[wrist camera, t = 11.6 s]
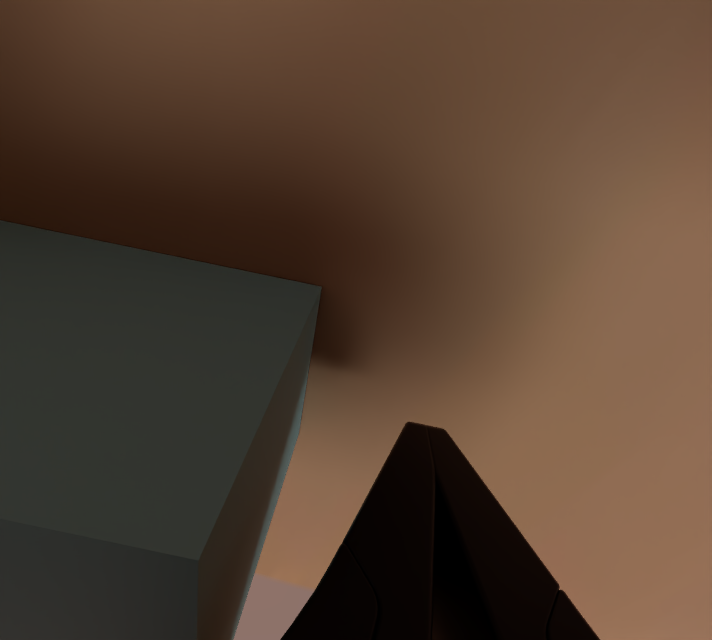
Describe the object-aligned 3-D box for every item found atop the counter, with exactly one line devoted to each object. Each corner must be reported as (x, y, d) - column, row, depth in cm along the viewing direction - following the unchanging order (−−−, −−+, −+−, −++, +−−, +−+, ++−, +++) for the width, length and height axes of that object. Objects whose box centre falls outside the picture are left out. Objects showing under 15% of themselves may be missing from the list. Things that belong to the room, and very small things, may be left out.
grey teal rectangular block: (321, 286, 9) (198, 560, 4) (299, 433, 11) (193, 762, 5) (-57, 208, 9) (-748, 359, 4) (-17, 367, 11) (-435, 628, 5)
